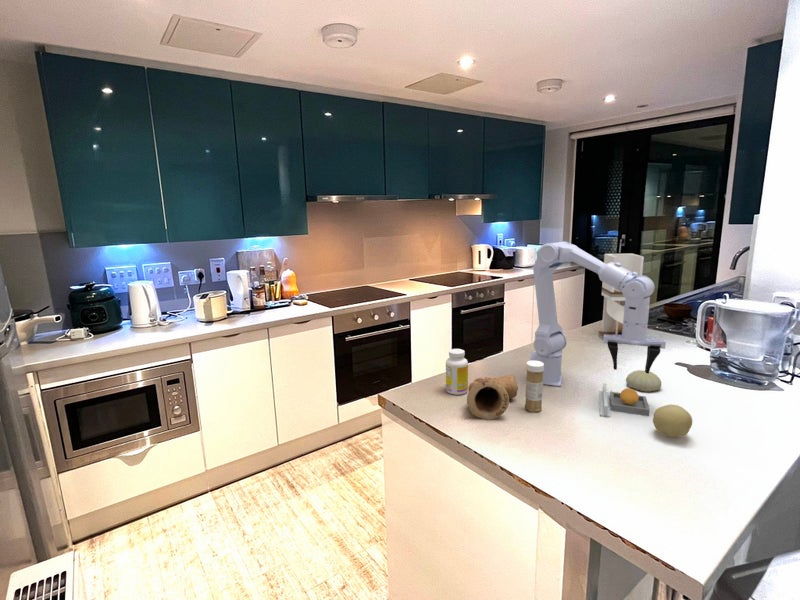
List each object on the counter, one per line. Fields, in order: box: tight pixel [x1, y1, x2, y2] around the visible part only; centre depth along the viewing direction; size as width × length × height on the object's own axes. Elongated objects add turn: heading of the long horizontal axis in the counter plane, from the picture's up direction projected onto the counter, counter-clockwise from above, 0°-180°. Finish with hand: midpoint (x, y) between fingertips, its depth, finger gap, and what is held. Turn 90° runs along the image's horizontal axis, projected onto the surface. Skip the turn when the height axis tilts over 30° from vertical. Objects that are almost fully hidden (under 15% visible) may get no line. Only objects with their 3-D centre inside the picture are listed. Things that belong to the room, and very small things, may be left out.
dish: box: [609, 391, 651, 417], centre depth 117 cm, size 9×9×2 cm
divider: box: [598, 382, 611, 418], centre depth 119 cm, size 2×16×3 cm, turn 156°
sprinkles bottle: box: [524, 360, 544, 413], centre depth 116 cm, size 5×5×14 cm
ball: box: [619, 387, 639, 405], centre depth 117 cm, size 4×4×4 cm
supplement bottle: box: [445, 348, 469, 396], centre depth 129 cm, size 7×7×13 cm
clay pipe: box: [466, 374, 519, 421], centre depth 118 cm, size 19×11×15 cm
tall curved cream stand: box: [598, 253, 645, 345], centre depth 172 cm, size 11×11×35 cm
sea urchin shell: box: [625, 369, 663, 392], centre depth 129 cm, size 9×8×8 cm
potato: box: [652, 404, 693, 439], centre depth 101 cm, size 8×8×8 cm
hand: (630, 370), depth 116 cm, fingers open, 7 cm apart
